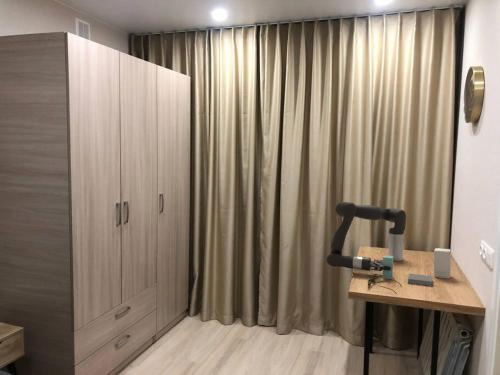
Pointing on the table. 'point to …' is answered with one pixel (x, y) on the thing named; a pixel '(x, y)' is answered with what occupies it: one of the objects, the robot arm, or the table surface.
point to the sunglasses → (372, 280)
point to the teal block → (388, 262)
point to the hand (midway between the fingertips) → (391, 266)
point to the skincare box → (442, 263)
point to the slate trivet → (420, 279)
